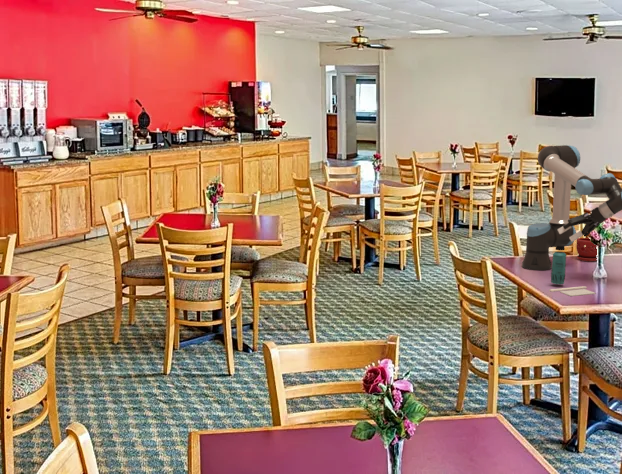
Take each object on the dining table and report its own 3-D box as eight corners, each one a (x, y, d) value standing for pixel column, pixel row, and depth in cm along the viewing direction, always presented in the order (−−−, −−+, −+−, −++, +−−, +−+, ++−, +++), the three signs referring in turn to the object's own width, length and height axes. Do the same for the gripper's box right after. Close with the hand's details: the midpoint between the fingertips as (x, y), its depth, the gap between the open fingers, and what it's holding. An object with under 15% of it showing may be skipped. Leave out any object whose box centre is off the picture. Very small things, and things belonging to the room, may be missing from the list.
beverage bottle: (548, 284, 388) (550, 244, 384) (561, 284, 388) (564, 243, 385) (553, 287, 381) (555, 246, 378) (566, 287, 382) (569, 246, 378)
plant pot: (603, 262, 438) (605, 241, 436) (579, 262, 438) (581, 241, 436) (595, 257, 451) (596, 237, 449) (572, 257, 451) (573, 236, 449)
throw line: (549, 290, 375) (549, 289, 375) (584, 287, 382) (584, 286, 382) (551, 291, 373) (551, 290, 373) (586, 288, 380) (586, 287, 380)
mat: (559, 292, 372) (559, 291, 372) (584, 289, 377) (584, 289, 377) (570, 296, 365) (570, 295, 365) (595, 293, 370) (595, 293, 370)
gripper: (595, 210, 375) (556, 234, 384) (615, 226, 392) (578, 248, 402) (588, 198, 379) (550, 222, 388) (608, 214, 396) (571, 237, 406)
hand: (564, 236), depth 395 cm, fingers open, 13 cm apart
